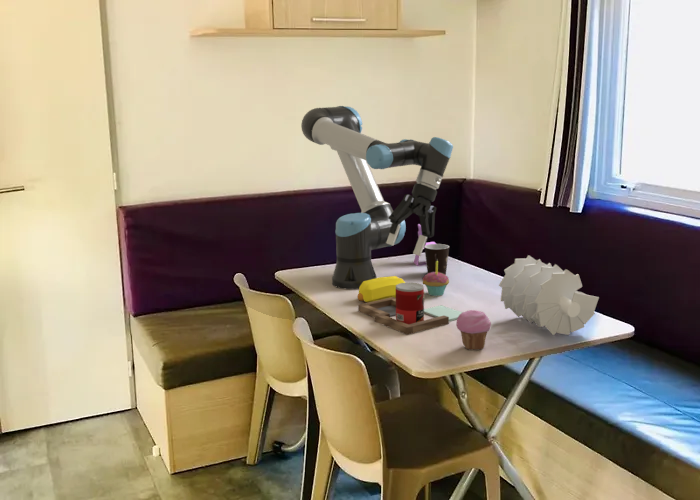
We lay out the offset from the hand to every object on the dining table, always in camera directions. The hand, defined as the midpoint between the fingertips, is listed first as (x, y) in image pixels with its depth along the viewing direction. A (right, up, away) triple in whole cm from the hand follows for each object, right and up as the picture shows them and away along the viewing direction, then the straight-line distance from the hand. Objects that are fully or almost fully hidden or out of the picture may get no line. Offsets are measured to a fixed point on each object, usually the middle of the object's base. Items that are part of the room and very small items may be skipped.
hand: (403, 249), depth 245 cm
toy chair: (+12, -5, +45) cm, 47 cm away
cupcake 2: (+15, -25, -44) cm, 53 cm away
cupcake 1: (+11, -14, +5) cm, 19 cm away
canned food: (0, -21, -23) cm, 31 cm away
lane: (-2, -20, -18) cm, 27 cm away
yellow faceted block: (-6, -16, +2) cm, 17 cm away
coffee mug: (+13, -9, +28) cm, 32 cm away
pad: (+11, -19, -16) cm, 27 cm away
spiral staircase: (+38, -21, -28) cm, 51 cm away
